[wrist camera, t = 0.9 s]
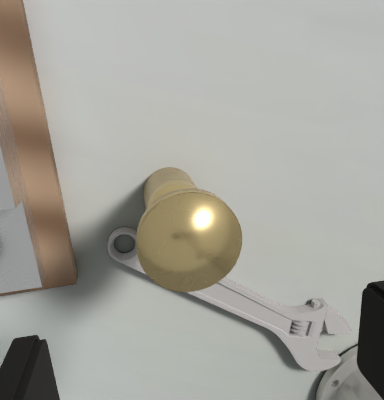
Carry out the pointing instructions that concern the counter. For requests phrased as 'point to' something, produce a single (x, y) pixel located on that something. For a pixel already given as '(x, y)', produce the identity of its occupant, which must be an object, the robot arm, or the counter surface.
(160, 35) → the counter surface
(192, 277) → the bolt
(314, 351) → the adjustable wrench
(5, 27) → the board
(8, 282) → the metal plate with bolts
